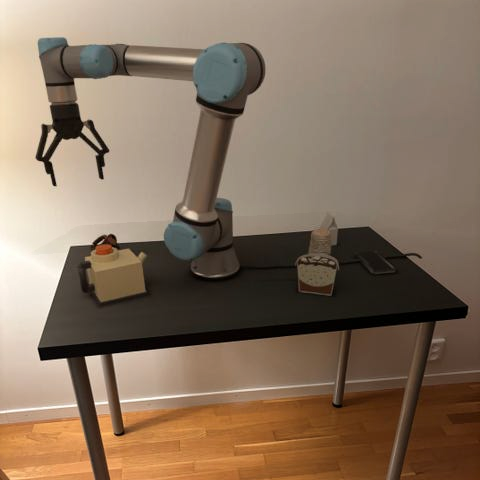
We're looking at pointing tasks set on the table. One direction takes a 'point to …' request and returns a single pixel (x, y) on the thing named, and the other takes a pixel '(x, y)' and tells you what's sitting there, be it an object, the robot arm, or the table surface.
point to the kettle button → (104, 249)
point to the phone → (375, 262)
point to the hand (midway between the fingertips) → (78, 182)
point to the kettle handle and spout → (91, 287)
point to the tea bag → (330, 227)
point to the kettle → (115, 274)
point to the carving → (320, 242)
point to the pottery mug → (106, 241)
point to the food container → (316, 273)
